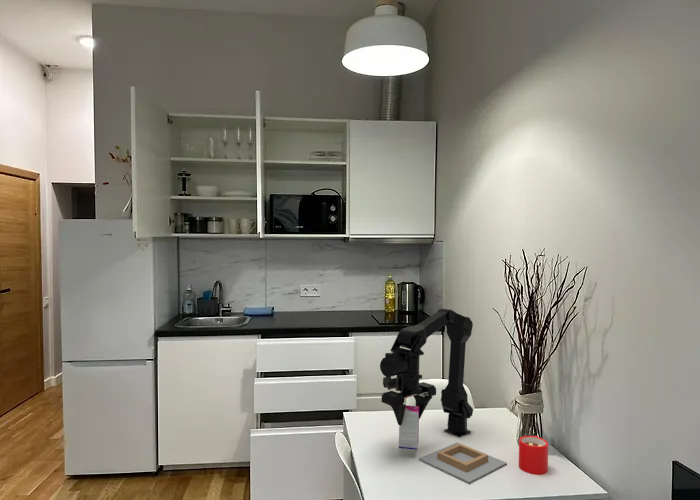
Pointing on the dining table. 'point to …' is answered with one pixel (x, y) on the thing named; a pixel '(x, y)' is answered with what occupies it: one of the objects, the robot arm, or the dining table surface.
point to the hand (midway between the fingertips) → (409, 421)
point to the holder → (463, 462)
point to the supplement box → (409, 428)
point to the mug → (533, 455)
